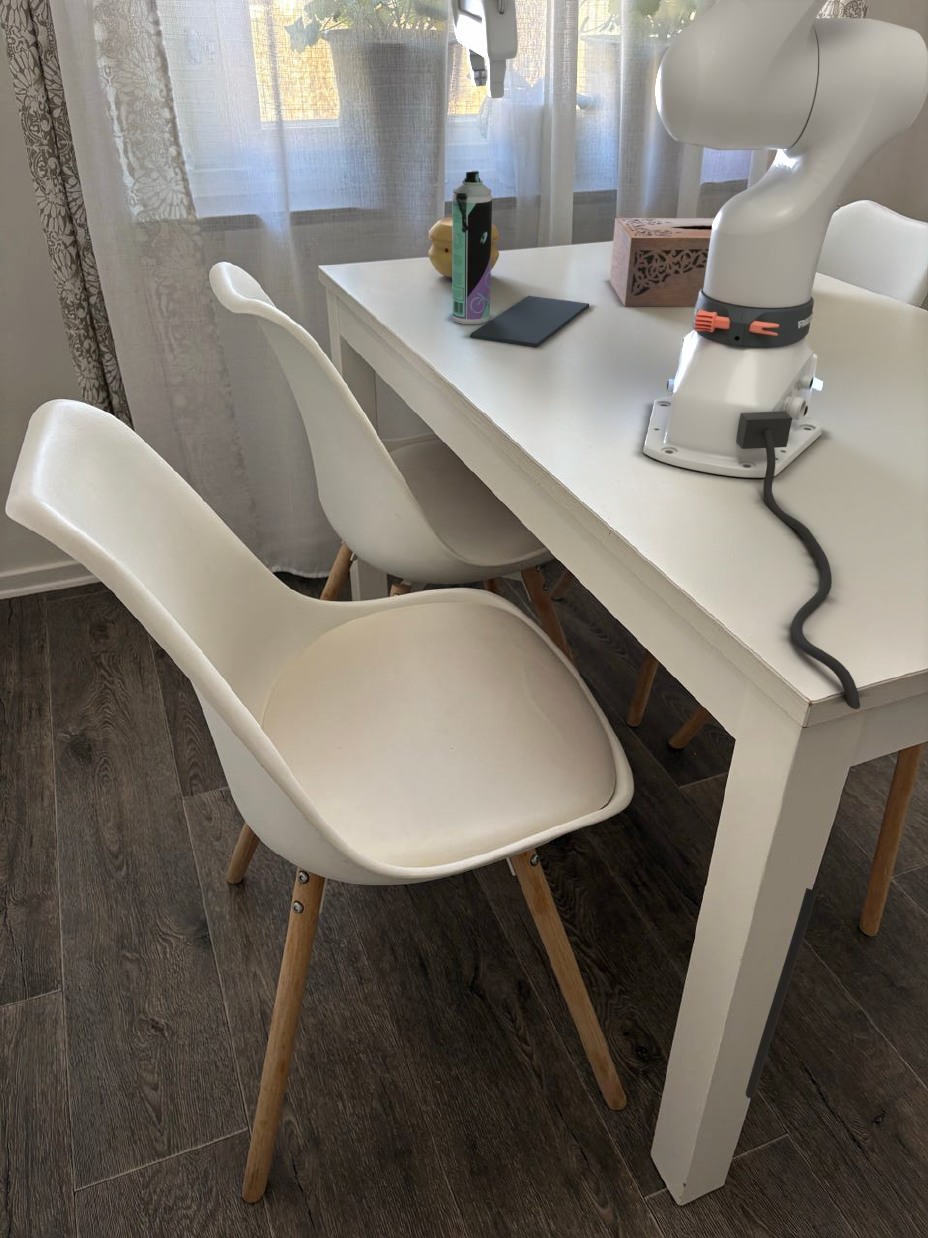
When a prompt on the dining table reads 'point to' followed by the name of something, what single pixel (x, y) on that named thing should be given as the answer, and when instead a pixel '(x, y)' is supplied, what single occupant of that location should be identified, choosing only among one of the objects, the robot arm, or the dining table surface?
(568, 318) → the mat
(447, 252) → the pot
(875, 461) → the dining table surface
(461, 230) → the spray can
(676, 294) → the tissue box cover
